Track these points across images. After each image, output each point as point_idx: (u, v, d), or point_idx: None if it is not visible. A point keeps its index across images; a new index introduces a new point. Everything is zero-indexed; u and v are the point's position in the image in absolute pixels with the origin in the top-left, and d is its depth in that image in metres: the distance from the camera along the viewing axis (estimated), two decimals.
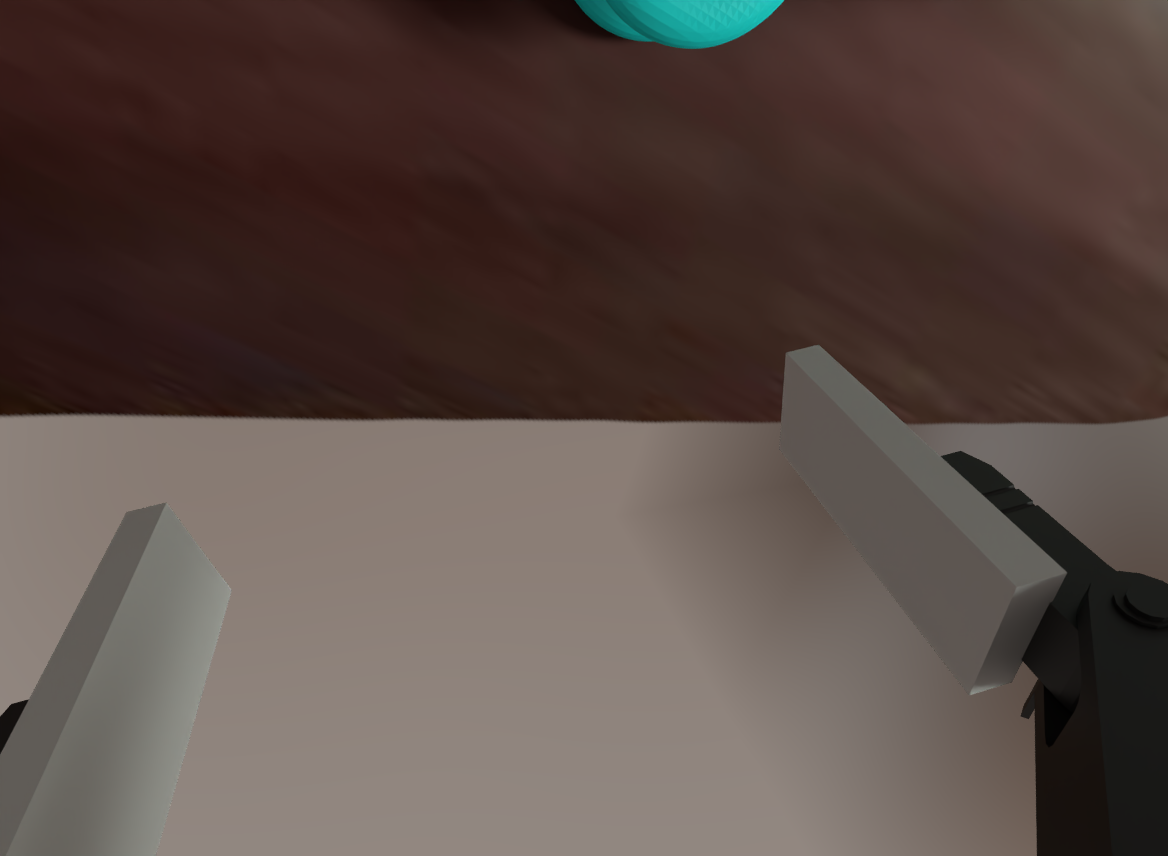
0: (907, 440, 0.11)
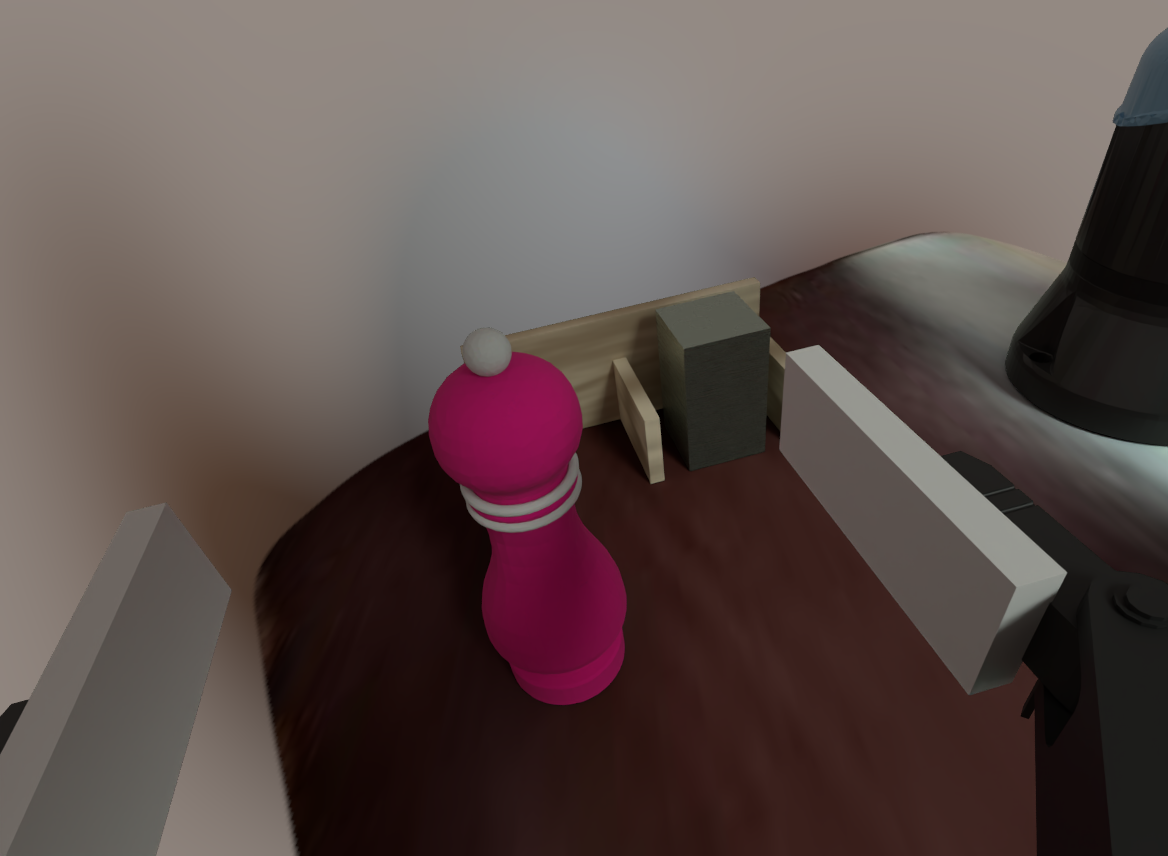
0: (907, 440, 0.11)
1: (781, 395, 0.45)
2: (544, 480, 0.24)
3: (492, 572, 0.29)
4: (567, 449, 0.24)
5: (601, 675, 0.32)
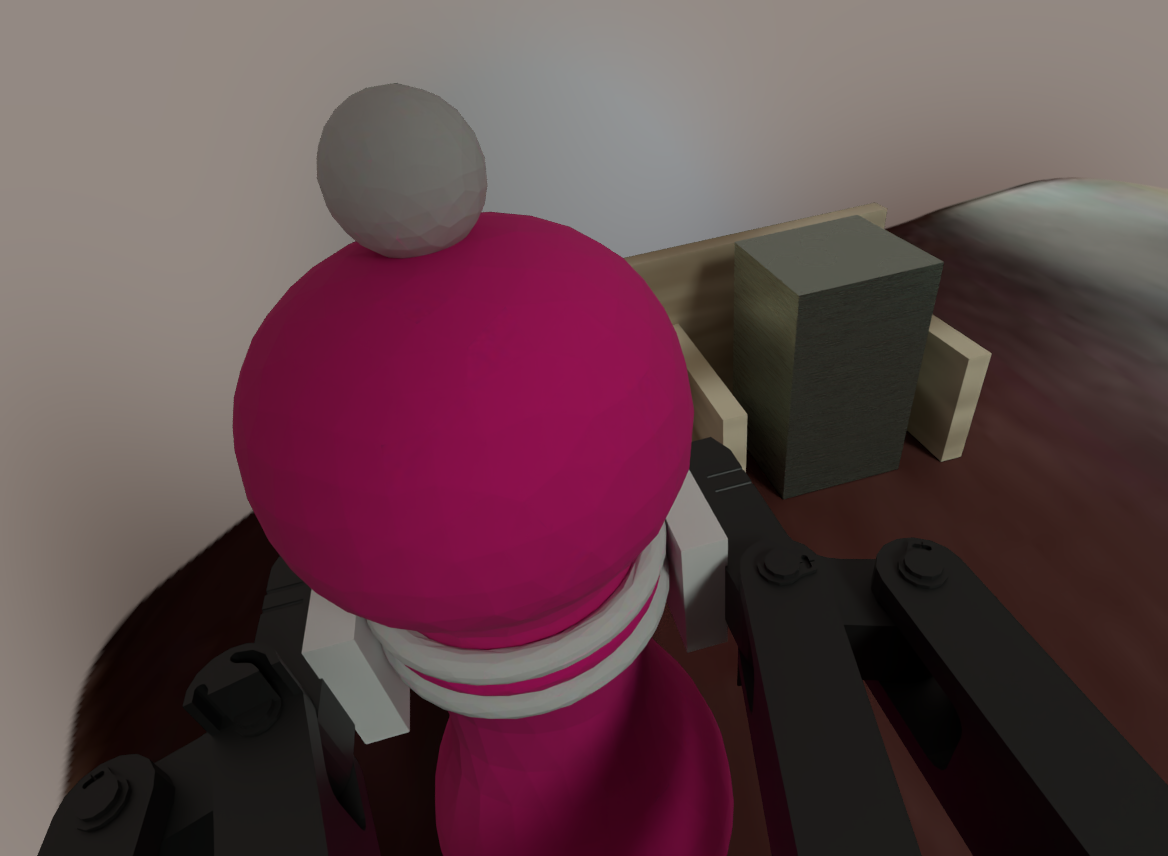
0: None
1: (925, 381, 0.29)
2: (589, 593, 0.08)
3: (451, 755, 0.13)
4: (662, 498, 0.07)
5: None
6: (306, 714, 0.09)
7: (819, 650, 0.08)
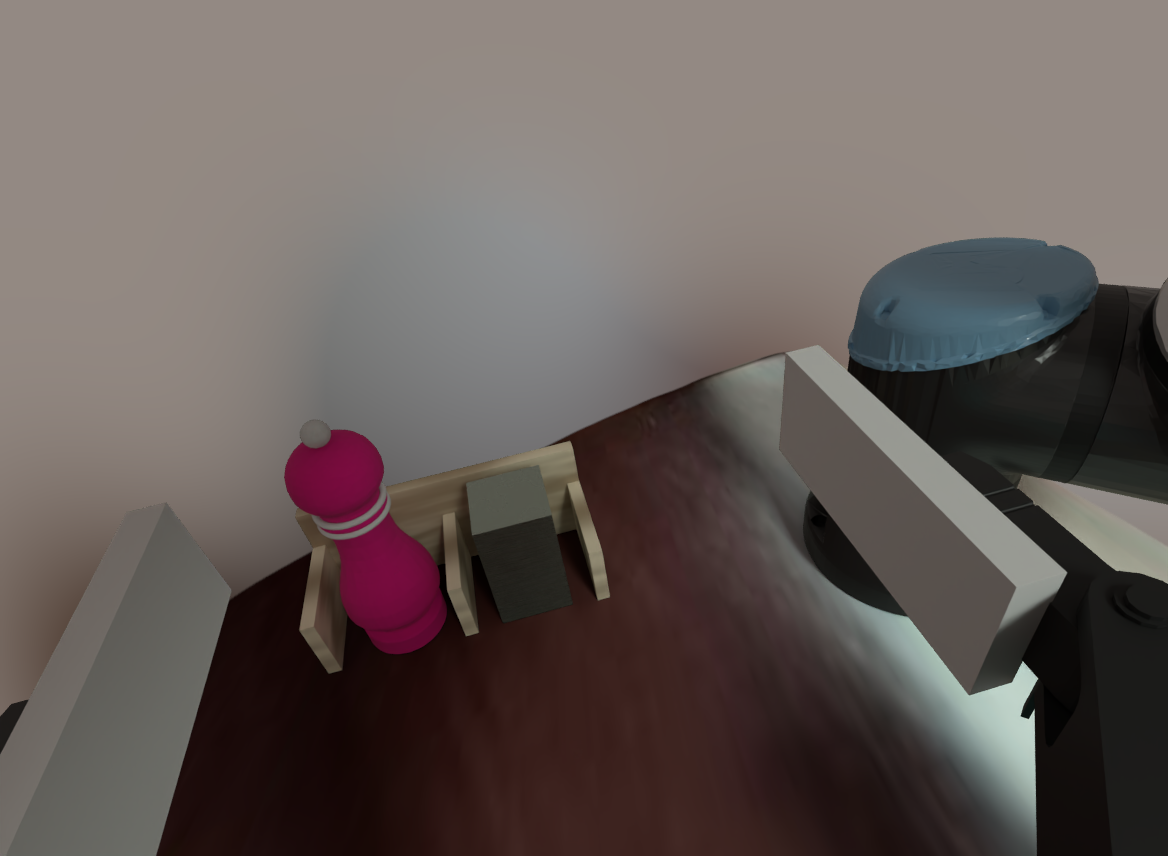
0: (907, 440, 0.11)
1: (586, 554, 0.49)
2: (352, 509, 0.40)
3: None
4: (364, 490, 0.40)
5: (421, 634, 0.48)
6: None
7: None
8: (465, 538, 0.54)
